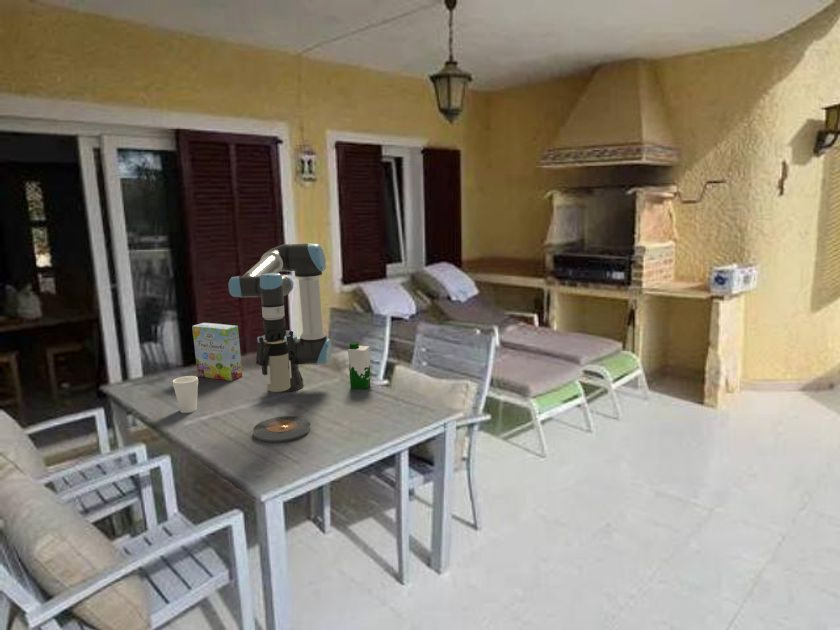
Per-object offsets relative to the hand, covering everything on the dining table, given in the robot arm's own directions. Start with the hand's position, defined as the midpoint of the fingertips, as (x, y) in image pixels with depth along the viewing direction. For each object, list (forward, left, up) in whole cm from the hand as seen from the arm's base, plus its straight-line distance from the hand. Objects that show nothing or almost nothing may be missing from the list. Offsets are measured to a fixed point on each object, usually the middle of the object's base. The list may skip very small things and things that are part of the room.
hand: (278, 380), depth 200 cm
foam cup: (+12, -49, -20) cm, 54 cm away
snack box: (-19, -82, -20) cm, 87 cm away
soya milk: (-53, -17, -20) cm, 59 cm away
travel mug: (0, 0, -3) cm, 3 cm away
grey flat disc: (0, 0, -20) cm, 20 cm away
